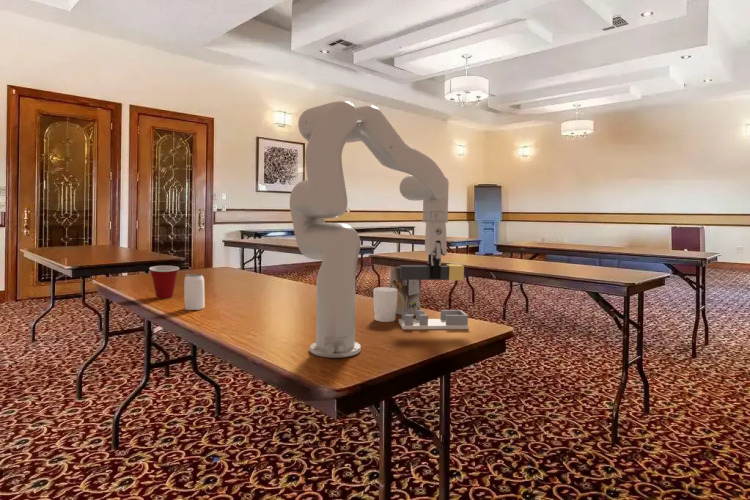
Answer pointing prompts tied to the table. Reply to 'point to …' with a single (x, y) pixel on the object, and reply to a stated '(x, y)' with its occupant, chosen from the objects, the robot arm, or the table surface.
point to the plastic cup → (164, 280)
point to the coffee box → (406, 292)
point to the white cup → (385, 304)
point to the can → (194, 292)
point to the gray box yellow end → (424, 272)
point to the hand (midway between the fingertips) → (433, 277)
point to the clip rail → (435, 320)
